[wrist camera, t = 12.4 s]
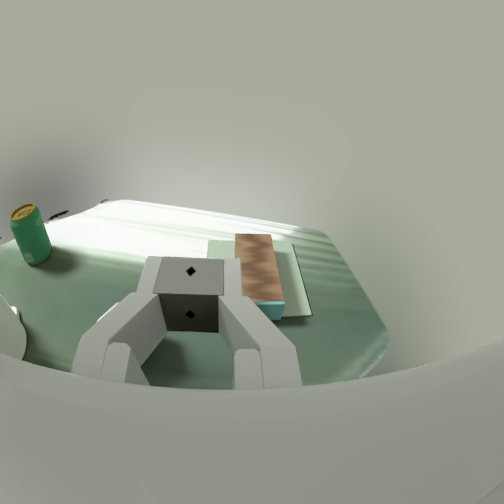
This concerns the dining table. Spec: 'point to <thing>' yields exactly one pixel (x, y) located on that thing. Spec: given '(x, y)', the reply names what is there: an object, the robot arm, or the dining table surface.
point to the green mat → (286, 268)
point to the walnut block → (260, 273)
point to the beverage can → (30, 233)
